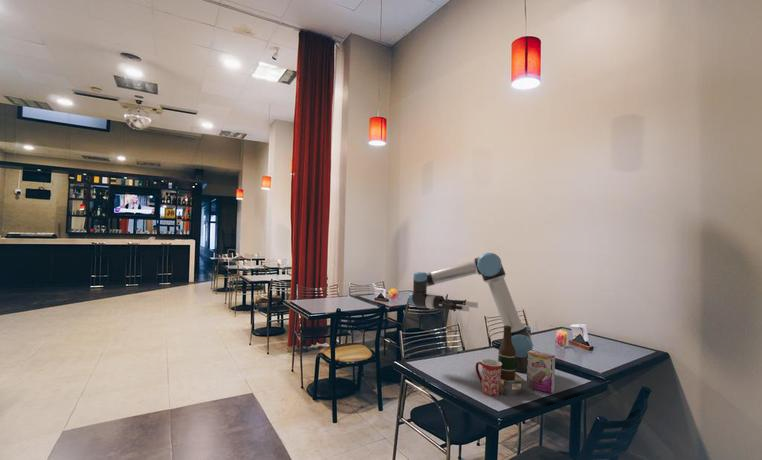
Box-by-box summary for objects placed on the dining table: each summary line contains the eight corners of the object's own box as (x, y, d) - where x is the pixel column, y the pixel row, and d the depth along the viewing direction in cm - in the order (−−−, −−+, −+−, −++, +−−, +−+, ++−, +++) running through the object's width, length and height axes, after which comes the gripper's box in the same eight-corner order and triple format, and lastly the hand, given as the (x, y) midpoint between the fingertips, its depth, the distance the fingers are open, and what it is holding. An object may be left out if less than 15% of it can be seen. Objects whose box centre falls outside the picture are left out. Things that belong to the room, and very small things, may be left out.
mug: (505, 394, 156) (506, 363, 156) (492, 398, 150) (493, 366, 151) (482, 384, 166) (483, 355, 167) (469, 388, 161) (470, 358, 161)
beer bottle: (518, 378, 164) (519, 326, 165) (509, 382, 159) (510, 328, 160) (503, 373, 170) (504, 323, 171) (494, 377, 165) (495, 325, 166)
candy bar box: (526, 387, 165) (526, 351, 165) (529, 384, 168) (530, 349, 169) (551, 394, 157) (552, 357, 158) (554, 391, 161) (555, 354, 162)
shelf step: (514, 381, 171) (515, 368, 172) (532, 395, 156) (532, 381, 156) (489, 381, 170) (489, 368, 170) (504, 395, 154) (504, 381, 154)
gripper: (444, 306, 203) (480, 310, 191) (425, 312, 182) (464, 318, 170) (444, 293, 203) (481, 296, 192) (425, 297, 182) (465, 302, 171)
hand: (473, 306), depth 181 cm, fingers open, 13 cm apart
